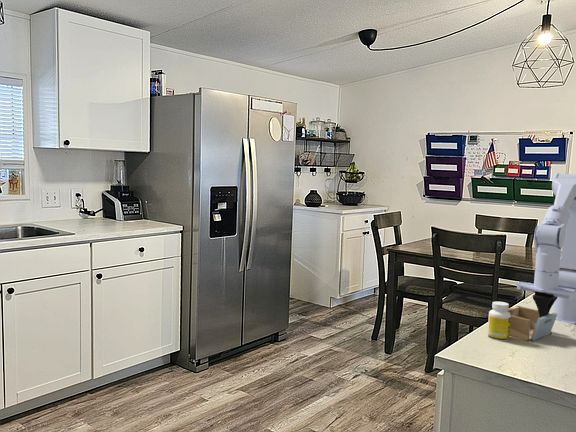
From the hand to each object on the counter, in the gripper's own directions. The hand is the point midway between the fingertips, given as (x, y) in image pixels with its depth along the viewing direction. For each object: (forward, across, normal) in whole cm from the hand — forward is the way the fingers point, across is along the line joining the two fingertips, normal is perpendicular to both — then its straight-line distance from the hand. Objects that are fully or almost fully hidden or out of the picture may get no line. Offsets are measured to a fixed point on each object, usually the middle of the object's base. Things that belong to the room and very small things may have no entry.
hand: (543, 321), depth 139 cm
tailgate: (+4, 0, 0) cm, 4 cm away
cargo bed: (+5, -6, 0) cm, 8 cm away
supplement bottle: (+5, -7, -10) cm, 13 cm away
